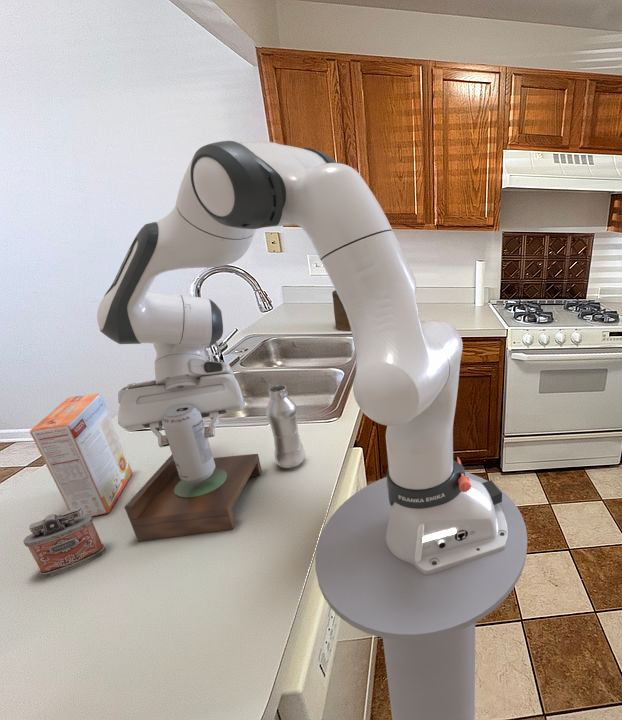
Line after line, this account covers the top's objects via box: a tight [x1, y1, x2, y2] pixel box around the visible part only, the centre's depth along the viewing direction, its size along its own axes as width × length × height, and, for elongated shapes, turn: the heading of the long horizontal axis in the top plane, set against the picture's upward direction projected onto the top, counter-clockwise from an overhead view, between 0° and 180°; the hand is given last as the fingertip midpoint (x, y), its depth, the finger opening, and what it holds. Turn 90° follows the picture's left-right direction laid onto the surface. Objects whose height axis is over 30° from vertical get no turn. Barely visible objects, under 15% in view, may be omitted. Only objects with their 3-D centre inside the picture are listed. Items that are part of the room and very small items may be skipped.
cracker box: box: [29, 392, 133, 518], centre depth 80 cm, size 14×6×21 cm, turn 23°
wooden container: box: [331, 289, 351, 331], centre depth 198 cm, size 15×15×22 cm
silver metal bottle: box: [265, 384, 306, 469], centre depth 91 cm, size 6×7×20 cm
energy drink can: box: [162, 404, 215, 483], centre depth 77 cm, size 6×6×15 cm
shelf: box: [124, 453, 263, 542], centre depth 81 cm, size 16×18×8 cm
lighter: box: [23, 507, 107, 578], centre depth 67 cm, size 8×3×10 cm, turn 131°
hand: (188, 441), depth 76 cm, fingers closed on energy drink can, 6 cm apart
